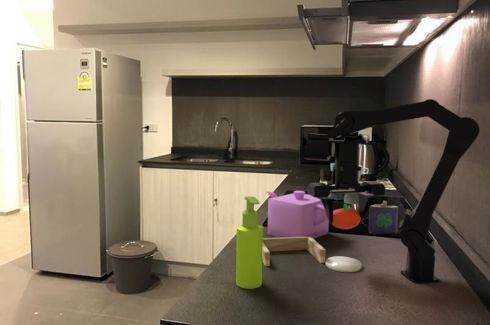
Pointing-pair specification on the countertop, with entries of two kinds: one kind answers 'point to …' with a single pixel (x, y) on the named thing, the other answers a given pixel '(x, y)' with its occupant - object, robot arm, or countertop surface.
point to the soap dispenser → (249, 248)
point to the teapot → (296, 215)
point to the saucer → (343, 264)
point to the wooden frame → (292, 247)
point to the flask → (383, 219)
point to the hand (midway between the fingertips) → (345, 222)
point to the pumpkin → (346, 217)
